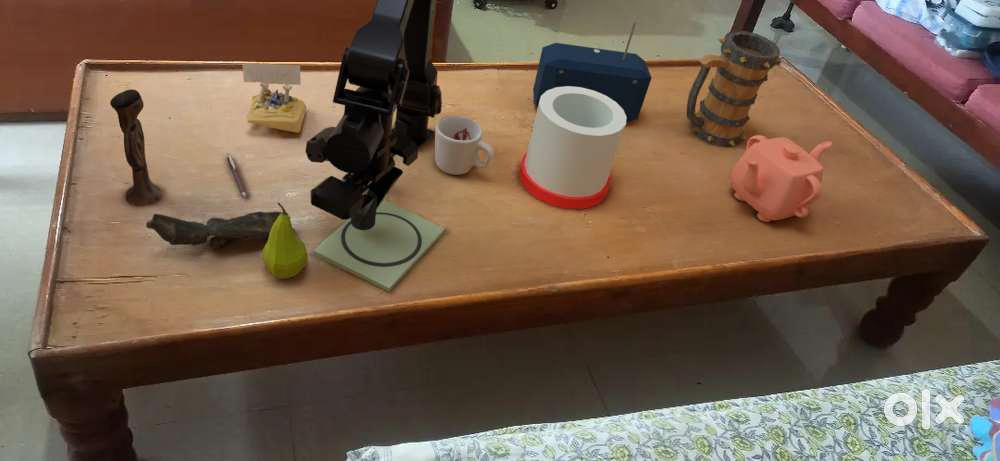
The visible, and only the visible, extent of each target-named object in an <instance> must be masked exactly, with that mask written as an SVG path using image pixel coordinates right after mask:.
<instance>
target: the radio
mask: <svg viewBox="0 0 1000 461" xmlns="http://www.w3.org/2000/svg"><path fill="white" fill-rule="evenodd" d="M636 24H637V22H633V24H632V26H631V30H630V32H629V37H628V40H627V44H626V46H625V49H624V51H619V50H611V49H604V48H597V47H590V46H583V45H575V44H569V43H560V42H554V43H551V44H549V45H546V46H543V47H542V48H541V53H540V56H539V57H540V58H539V61H538V66H537V70H536V75H535V80H534V84H533V88H532V93H533V99H534V106H535V108H537V109H538V105H539V101H540V98H541V95H543V94H544V93H545V92H546V91H547V90H550V89H553V88H556V87H565V86H571V87H581V88H586V89H590V90H594V91H596V92H598V93H601V94H603V95H606V96H607V97H609V98H610V99H612V100H613V101H615V102H616V103H617V104H618V105H619V106H620V107H621V108H622V109H623V110H624V113H625V115H626V117H627V118H626V124H629V123H631V122H634V121H637V120H639V116H640V113H641V111H642V107H643V105H644V101H645V99H646V96H647V93H648V90H649V87H650V85H651V82H652V75H651V72H650V69H649V67H648V64H647V62H646V60H644V59H643V58H642V57H640V55H639V54H637V53H632V52H628V50H629V47H630V43H631V40H632V37H633V34H634V30H635V28H636Z"/></svg>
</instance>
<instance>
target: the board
mask: <svg viewBox="0 0 1000 461" xmlns="http://www.w3.org/2000/svg"><path fill="white" fill-rule="evenodd" d="M445 232H446V228H445V227H444V226H441V225H440V224H437V223H435V222H432V221H431V220H428V219H426V218H424V217H423V216H420V215H417V214H416V213H413V212H411V211H410V210H407V209H405V208H403V207H401V206H398V205H397V204H394V203H392V202H390V201H388V200H385V199H384V200H383V201H382V202H381V204H380V205H379V207H378V208H377V210H376V219H375V225H374V227H373V228H371V229H369V230H359V229H356V228H354V227H353V226H352V224H351V218H350V219H347V220H345V221H344V222H343V223H342V224H341V225H340V226H339V227H338V228H336V229H335V230H334V231H333V232H332V233H331V234H330V235H328V236H327V238H325V239H324V240H323V241H322V242H321V243H320V244H318V245H317V246H316V247H315V248H314V249H313V250H312V251H313V252H312V254H313V255H314V256H316V257H318V258H320V259H322V260H324V261H326V262H328V263H330V264H333V265H334V266H336V267H338V268H340V269H342V270H344V271H346V272H348V273H350V274H351V275H354V276H356V277H358V278H360V279H362V280H364V281H366V282H368V283H370V284H372V285H374V286H376V287H378V288H379V289H382V290H384V291H386V292H389V293H390V292H391V290H392V289H393V288H395V286H396V285H397V284H398V283H399V282H400V281H401V280H402V279H403V277H404V276H406V275H407V273H408V272H409V271H410V270H411V269H412V268H413V267H414V266H415V265H416V263H417V262H418V261H419V260H420V259H421V258H422V257H423V256H424V255H425V254H426V253H427V252H428V251H429V250H430V249H431V248H432V246H433V245H434V244H435V243H436V242H437V241H438V240H439V239H440V238H441V237H442V236H443V234H445Z"/></svg>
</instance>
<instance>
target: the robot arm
mask: <svg viewBox="0 0 1000 461" xmlns="http://www.w3.org/2000/svg"><path fill="white" fill-rule="evenodd" d="M435 7H436V0H376V2H375V5H374V8H373V10H372V14H371V16H370V19H369V20H368V21H367V22H365V23H364V24H362V25H361V26H360V27H359V28H357V29H356V30H355V32H354V35H353V37H352V40H351V42H350V45H349V46H346V47H345V49H344V51H343V54H342V58H341V62H340V68H339V71H338V75H337V80H336V85H335V89H334V95H333V99H332V103H333V104H338V105H340V106H344V111H343V115H342V116H341V118H340V120H339V121H338V123H337V124H336V126H328V127H325V128H323V129H322V130H321V131H319V132H318V133H316V134H315V135H313V137H311V138H309V139H308V140H307V141H306V144H305V153H306V157H307V159H308V160H309V161H310V162H311V163H321V164H323V163H324V162H329V163H330V165H332V166H333V167H334V168H336V169H337V170H339V171H340V172H343V173H346V174H345V175H343V177H341V179H339V178H337V177H335V176H333V175H330V176H328V177H326V178H324V179H323V180H321V181H320V182H319V183H318V184H317V185H315V186H314V187H313V188H312V189H311V190H310V205H311V206H313V207H315V208H317V209H320V210H321V211H323V212H326V213H328V214H331V215H332V216H334V217H336V218H338V219H340V220H342V221H347V220H348V219H350V218H351V220H352V223H353V224H354V225H356V226H360V225H361V223H362V221H363V220H364V218H365V216H366V214H367V212H368V210H369V208H370V206H371V204H372V202H373V200H374V197H371V196H369V195H367V191H368V190H372V191H373V192H375V193H376V195H377V207H376V210H377V208H378V207H379V205H380V204H381V202H382V201H383V200H385V198H386V197H387V196H388V194H389V192H390V191H391V190H392V188H393V187H394V186H395V184H396V183H397V182H398V180H399V179H400V178H401V177H402V175H403V174H404V171H403V169H402V168H399V167H397V166H396V163H395V162H396V160H395V157H396V156H399V157H400V158H402V164H403V165H405V166H406V167H409V166H411V165H412V164H413V163H414V162H415V161H416V160H418V157H419V149H420V148H421V147H422V146H423V145H424V144H425V143H427V142H428V140H429V139H431V138H432V137H433V136H435V130H432V129H430V128H429V120H430V119H429V118H432V119H434V118H435V117H436V115H439V114H441V112H442V108H443V97H442V90H441V87H440V85H438V75H439V74H438V70H437V68H436V67H435V65H434V63H433V62H432V60H431V58H430V57H431V48H432V36H433V28H434V27H433V26H434V16H435V9H436V8H435ZM347 82H348V84H349V85H352V86H356V87H357V88H356V89H355V90H353V89H350V88H346V86H347ZM394 114H395V120H394ZM393 120H394V127H393Z"/></svg>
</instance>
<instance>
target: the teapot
mask: <svg viewBox="0 0 1000 461" xmlns="http://www.w3.org/2000/svg"><path fill="white" fill-rule="evenodd" d="M832 145H833V143H832V141H830V140H829V141H828V140H826V141H823V142H820V143H819V144H818V145H817V146H815V148H813V149H812V150H811V151H810V152H807V151H806V150H805V149H803V148H802V147H800V146H799V145H798V144H796V143H795V142H793V141H792V140H790V139H788V138H787V137H784V136H782V137H774V138H767V137H766V136H764V135H761V134H756V135H753V136H751V137H750V138H749V139H748V140H747V142H746V147H745V152H744V153H743V155H742V156H741V157H740V158H739V160H738V161H737V163H736V164H735V166H734V168H733V170H732V172H731V173H730V186H731V188H732V189H733V190H734V191H735V192H734V193H733V196H734V198H736V199H737V200H739V201H742V202H745V203H747V205H749V206H750V207H752V208H753V209H754V210H755V211H756V212H758V213H757V214H756V216H757V218H758V219H759V220H760V221H762V222H765V223H767V222H768V223H770V222H771V221H779V220H784V219H788V218H791V217H794V216H795V217H798V218H800V219H804V218H806V217H807V216H808V215H809V209H810V208H811V207H812V206H813V204H814V203H815V202H816V200H817V199H818V198H819V197H820V196H821V194H822V190H823V189H822V181H823V175H824V167H823V165H822V164H821V163H820V162H819V161H820V159H821V157H822V156H823V155H824V153H825V151H826V150H828V149H829V148H830V147H831V146H832Z"/></svg>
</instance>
